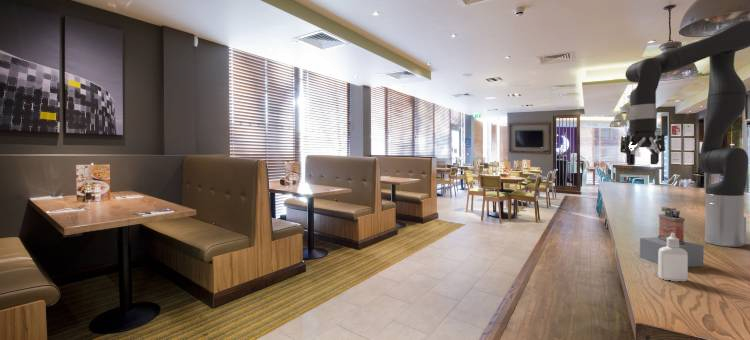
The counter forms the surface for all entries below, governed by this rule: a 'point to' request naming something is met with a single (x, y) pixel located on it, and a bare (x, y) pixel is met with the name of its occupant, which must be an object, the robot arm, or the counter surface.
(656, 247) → the pedestal block
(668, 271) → the eye dropper bottle
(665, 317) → the counter surface
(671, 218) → the lighter
